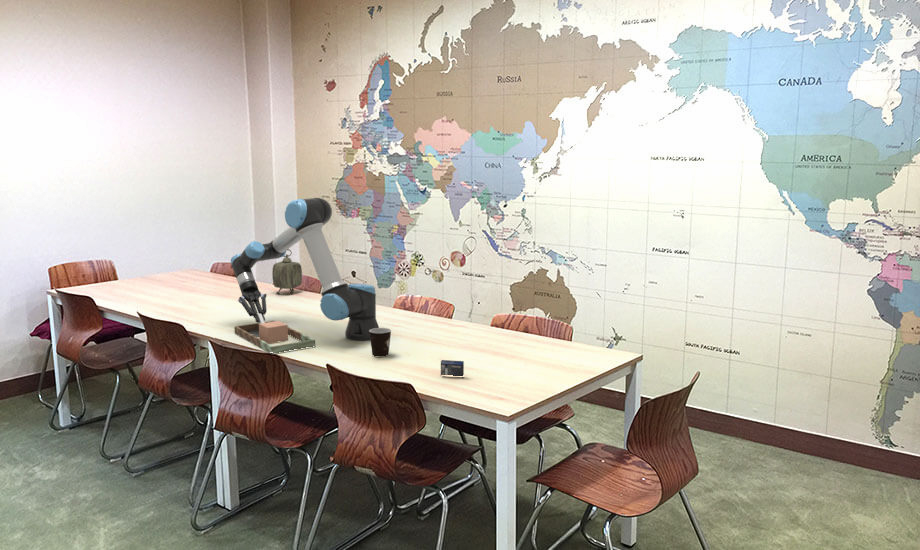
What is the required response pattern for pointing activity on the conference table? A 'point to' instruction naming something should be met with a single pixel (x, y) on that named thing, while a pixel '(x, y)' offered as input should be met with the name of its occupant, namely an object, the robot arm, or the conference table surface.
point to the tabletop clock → (287, 274)
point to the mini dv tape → (452, 367)
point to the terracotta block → (273, 332)
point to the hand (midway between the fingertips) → (263, 327)
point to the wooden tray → (249, 335)
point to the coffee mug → (380, 341)
